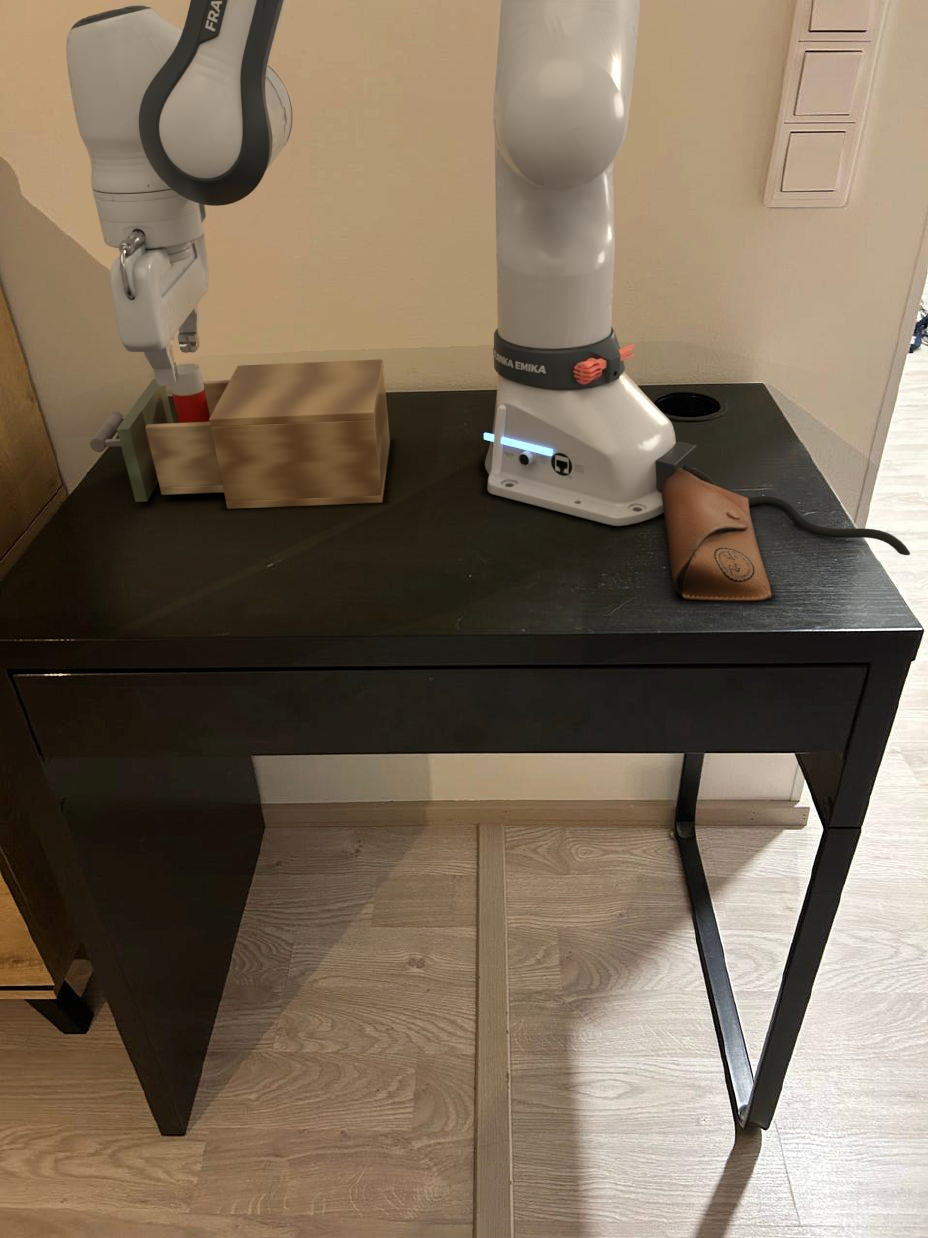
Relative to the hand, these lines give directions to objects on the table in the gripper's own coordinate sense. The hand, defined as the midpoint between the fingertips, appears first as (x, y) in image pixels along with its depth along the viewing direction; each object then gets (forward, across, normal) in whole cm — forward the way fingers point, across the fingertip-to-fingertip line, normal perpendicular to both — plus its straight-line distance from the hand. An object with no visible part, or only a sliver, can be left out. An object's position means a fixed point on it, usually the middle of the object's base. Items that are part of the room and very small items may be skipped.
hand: (180, 366), depth 95 cm
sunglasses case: (+12, -18, -50) cm, 55 cm away
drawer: (+11, 0, 0) cm, 11 cm away
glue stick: (+10, 0, 0) cm, 10 cm away
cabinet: (+12, 0, -12) cm, 17 cm away
